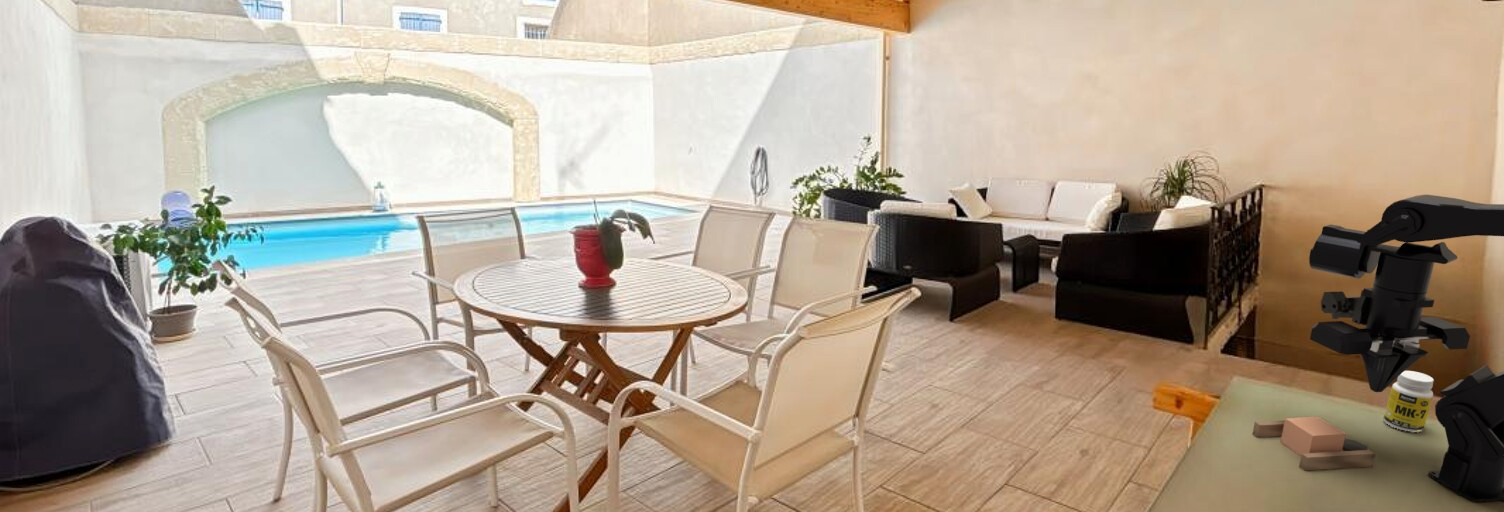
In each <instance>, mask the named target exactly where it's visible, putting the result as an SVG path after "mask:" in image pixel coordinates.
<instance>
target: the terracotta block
mask: <svg viewBox="0 0 1504 512" xmlns="http://www.w3.org/2000/svg"><path fill="white" fill-rule="evenodd" d="M1284 420H1285V422H1284V427H1283V432H1282V436H1280V437H1281V438H1280V443H1281V444H1283V445H1284V446H1286V447H1288V448H1289V449H1290V450H1292V451H1293V452H1294V453H1296V454H1298V455H1299V456H1301V455H1302V454H1306V453H1323V452H1340V451H1343V449H1342V448H1343V444H1344V440H1345V438H1346V436H1347V435H1346V434H1347V433H1345V432H1343V431H1342V430H1340V429H1339V428H1338V427H1335V426H1334V425H1332V424H1331V423H1328V422H1327V421H1325V420H1323V419H1322V418H1320V417H1318V416H1307V417H1305V416H1303V417H1287V418H1285V419H1284Z"/></svg>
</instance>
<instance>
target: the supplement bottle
mask: <svg viewBox="0 0 1504 512" xmlns="http://www.w3.org/2000/svg"><path fill="white" fill-rule="evenodd" d="M1396 379H1397V381H1396V382H1394V383H1392V385H1391V387H1390V388H1391V389H1390V393H1389V396H1388V400H1387V404H1386V408H1385V410H1384V411H1385V412H1384V415H1383V422H1384V423H1385V424H1386V425H1387V424H1388V425H1387V426H1389V425H1390V426H1389V427H1391V428H1393V427H1394V428H1393V429H1395V428H1397V429H1396V430H1398V429H1402V430H1406V431H1408V430H1409V431H1417V430H1422V429H1423V428H1424V429H1425V425H1426V421H1427V419H1428V415H1429V413H1430V408H1431V405H1432V401H1433V397H1434V393H1433V390H1432V388H1433V385H1434V382H1435V380H1434V378H1433V377H1432V376H1430V375H1428V374H1426V373H1422V372H1420V371H1419V372H1418V371H1413V370H1405V371H1404V372H1403V373H1401V374H1400V375H1399V376H1398V377H1397V378H1396ZM1424 429H1423V430H1424ZM1406 431H1405V432H1406Z"/></svg>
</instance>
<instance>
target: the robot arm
mask: <svg viewBox="0 0 1504 512" xmlns="http://www.w3.org/2000/svg"><path fill="white" fill-rule="evenodd" d="M1473 236H1482V237H1483V236H1485V237H1488V236H1489V237H1504V203H1503V204H1501V203H1499V204H1495V203H1494V204H1492V203H1490V204H1489V203H1480V202H1473V201H1469V200H1465V199H1460V198H1457V197H1447V196H1441V195H1433V194H1420V195H1419V194H1418V195H1415V196H1411V197H1407V198H1404V199H1400V200H1397V201H1394V202H1393V203H1391V204H1390V205H1389V206H1387V207H1386V208H1385V209H1384V211H1383V212H1382V216H1381V221H1379V222H1377V224H1375V225H1373V226H1372V227H1371V228H1369V229H1368V230H1366V231H1362V230H1358V229H1351V228H1346V227H1342V226H1341V225H1337V224H1336V225H1335V224H1327V225H1324V226H1323V227H1322V231H1321V233H1320V235H1318V237H1317V239H1316V240H1315V242H1314V245H1313V247H1312V248H1310V251H1309V257H1308V260H1309V266H1310V268H1311V269H1312V270H1316V271H1321V272H1325V273H1330V274H1335V275H1339V276H1344V277H1349V278H1352V279H1353V278H1354V279H1361V278H1363V276H1365V275H1366V274H1369V275H1370V274H1373V272H1374V271H1375V274H1374V279H1373V283H1372V287H1364V288H1363V289H1362V290H1361V292H1360V296H1346V293H1344V291H1324V292H1323V294H1322V298H1321V299H1320V300H1321V301H1320V307H1321V311H1322V313H1324V314H1331V320H1333V321H1318V322H1317V323H1314V324H1313V325H1312V327H1311V328H1312V329H1311V333H1310V337H1309V340H1311V341H1312V342H1315V343H1317V344H1319V345H1321V346H1323V347H1325V348H1327V349H1330V350H1331V351H1333V352H1336V353H1338V354H1341V355H1346V356H1348V355H1349V356H1351V355H1353V356H1354V355H1360V356H1361V358H1362V360H1363V363H1364V364H1363V365H1364V369H1365V372H1366V376H1367V381H1368V385H1369V389H1370V391H1373V392H1374V393H1382V392H1384V391H1385V390H1386V389H1387V388H1388V386H1390V385H1391V384H1393V382H1394V381H1395V380H1396V379H1397V378H1398V376H1399V375H1400V374H1401V373H1403V372H1404V371H1407V369H1408V368H1410V367H1411V366H1412V365H1414V364H1415V363H1416V362H1417V361H1419V360H1420V359H1421V358H1423V357H1427V355H1429V352H1428V351H1426V350H1425V349H1422V348H1420V347H1421V346H1420V345H1421V344H1420V341H1423V340H1424V341H1426V340H1440V341H1441V344H1442V346H1444V348H1445V349H1447V350H1451V351H1452V350H1467V348H1468V345H1469V342H1470V338H1471V335H1470V334H1469V331H1468V330H1467V328H1466V327H1464V326H1462V325H1459V324H1455V323H1453V322H1450V321H1447V320H1445V319H1442V318H1439V317H1436V316H1423V312H1424V308H1433V307H1434V304H1435V299H1432V298H1429V297H1427V295H1428V290H1429V287H1430V283H1431V279H1432V274H1433V270H1434V267H1435V264H1441V265H1447V264H1449V263H1451V262H1454V261H1456V260H1457V259H1458V255H1457V254H1455V253H1454V252H1453V251H1452V250H1451V249H1449V247H1448V246H1447V244H1446V242H1445V241H1442V240H1446V239H1448V240H1449V239H1455V238H1456V239H1457V238H1462V237H1463V238H1465V237H1473ZM1439 240H1441V242H1438V243H1436V244H1434V245H1432V246H1431V245H1426V244H1419V243H1418V242H1420V243H1421V242H1428V241H1429V242H1430V241H1439ZM1391 241H1397V242H1402V244H1401V245H1400V246H1394V245H1388V244H1385V243H1388V242H1391ZM1339 318H1341V319H1343V318H1345V319H1346V318H1348V319H1351V322H1352V323H1354V324H1356V325H1362V326H1364V328H1360V327H1356V326H1354V325H1352V324H1349V323H1347V322H1345V321H1342V320H1338V319H1339ZM1334 320H1335V321H1334ZM1439 394H1440V395H1443V397H1441V398H1440V399H1439V400H1438V401H1437V402H1436V404H1435V405H1434V407H1435V411H1434V412H1435V413H1434V414H1435V416H1436V419H1437V421H1438V423H1439V424H1440V425H1441V426H1442V428H1444V431H1445V435H1446V441H1447V444H1448V446H1447V447H1448V448H1447V451H1446V452H1445V453H1444V455H1443V459H1442V463H1441V467H1440V470H1429V471H1428V473H1427V475H1428V476H1429V477H1430V478H1432V479H1434V480H1435V481H1437V482H1439V483H1441V484H1442V485H1444V486H1446V487H1447V488H1449V489H1451V490H1452V491H1454V492H1456V493H1458V494H1459V495H1461V496H1463V497H1464V498H1466V499H1468V500H1469V501H1471V502H1474V503H1482V502H1496V501H1500V502H1501V501H1504V370H1502V371H1499V372H1496V373H1495V372H1493V371H1492V369H1491V368H1490V367H1489V365H1486V364H1485V365H1484V366H1482V367H1481V368H1478V369H1477V370H1475V371H1474V372H1472V373H1470V374H1469V375H1468V376H1466V377H1465V378H1464V379H1459V380H1457V381H1455V382H1454V383H1452V384H1450V385H1449V386H1447V387H1446V388H1444V389H1442V390H1440V391H1439Z"/></svg>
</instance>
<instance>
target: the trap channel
mask: <svg viewBox="0 0 1504 512" xmlns="http://www.w3.org/2000/svg"><path fill="white" fill-rule="evenodd" d="M1284 422H1285V419H1284V420H1268V421H1267V420H1266V421H1254V423H1253V429H1252V435H1253V436H1255V437H1256V438H1266V437H1267V438H1268V437H1269V438H1270V437H1271V438H1272V437H1282V432H1283V427H1284ZM1375 457H1376V453H1375V452H1374V451H1371V450H1370V449H1369V448H1368V446H1367V445H1366V444H1364V443H1363V442H1361V441H1358V440H1354V439H1353V438H1346V437H1345V440H1344V444H1343V448H1342V451H1340V452H1323V453H1306V454H1302V455H1300V460H1299V465H1298V467H1299V468H1300V469H1302V470H1303V471H1315V470H1331V469H1332V470H1333V469H1335V470H1336V469H1347V468H1349V469H1350V468H1353V469H1354V468H1366V467H1373V463H1374V459H1375Z"/></svg>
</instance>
